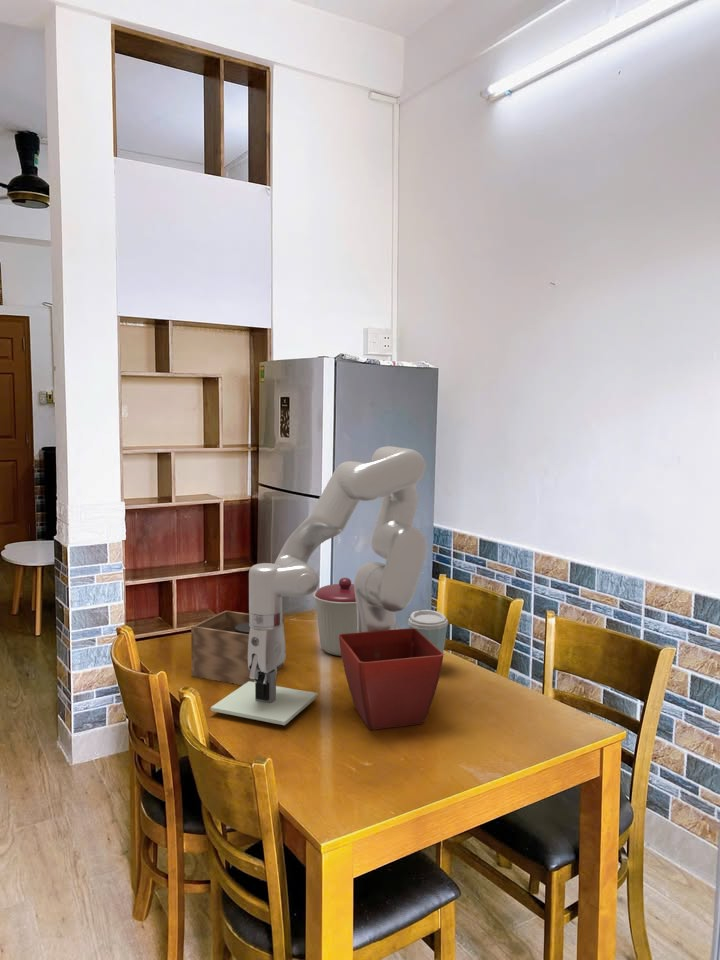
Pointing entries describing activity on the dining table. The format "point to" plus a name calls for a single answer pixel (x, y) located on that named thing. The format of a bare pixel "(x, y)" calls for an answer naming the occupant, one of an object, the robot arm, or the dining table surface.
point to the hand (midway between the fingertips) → (265, 696)
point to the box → (221, 649)
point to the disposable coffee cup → (430, 626)
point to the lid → (265, 702)
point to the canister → (335, 614)
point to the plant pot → (391, 675)
